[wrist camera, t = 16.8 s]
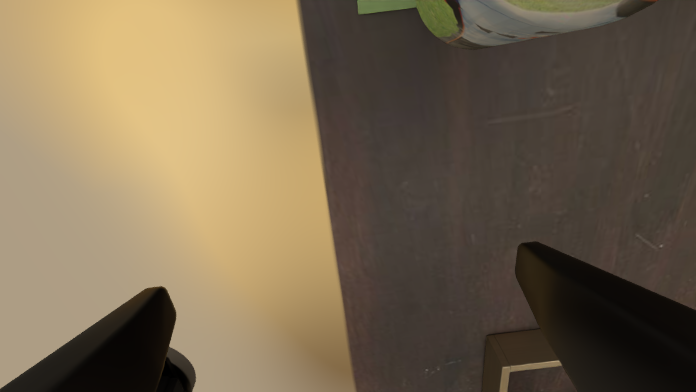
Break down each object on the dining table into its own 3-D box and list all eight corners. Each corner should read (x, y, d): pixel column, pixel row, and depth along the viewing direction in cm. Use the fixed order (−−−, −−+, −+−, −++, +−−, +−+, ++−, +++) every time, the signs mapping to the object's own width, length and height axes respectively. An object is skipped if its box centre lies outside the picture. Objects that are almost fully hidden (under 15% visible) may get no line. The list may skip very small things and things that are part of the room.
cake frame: (479, 412, 33) (493, 447, 30) (486, 335, 29) (502, 367, 26) (586, 399, 33) (609, 433, 30) (610, 320, 29) (639, 351, 26)
